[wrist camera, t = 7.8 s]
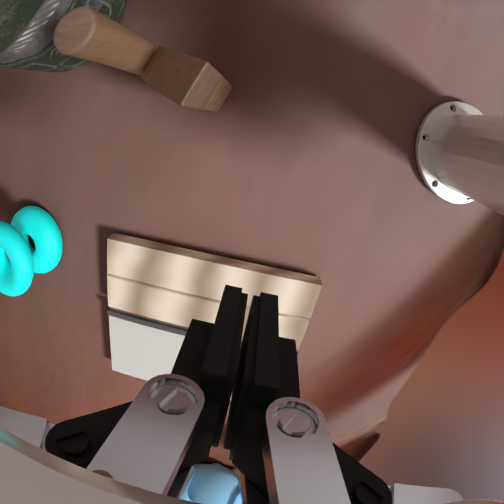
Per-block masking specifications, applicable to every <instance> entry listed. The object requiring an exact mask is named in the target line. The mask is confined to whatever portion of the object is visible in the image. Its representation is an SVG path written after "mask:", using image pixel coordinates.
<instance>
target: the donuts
mask: <svg viewBox="0 0 504 504" xmlns="http://www.w3.org/2000/svg"><path fill="white" fill-rule="evenodd" d="M28 235H29V236H31V238H32V239H33V241H34V243H35V249H33V247H32V246H31V244H30V242H29V239H28ZM62 249H63V243H62V236H61V233H60V230H59V227H58V225H57V223H56V222H55V220H54V219H53V217H52V216H51V215H50V214H49V213H48V212H47V211H45V210H44V209H42V208H40V207H37V206H26V207H24V208H22V209H20V210H19V211H18V212H17V213H16V214H15V215H14V217H13V219H12V221H11V224H9V223H6V222H3V221H0V292H1V293H3V294H5V295H8V296H18V295H21V294H23V293H24V292H26V291H27V289H28V288H29V287H30V285H31V282H32V279H33V274H34V272H35V273H47V272H49V271H51V270H53V269H54V268H55V267H56V266H57V264H58V263H59V261H60V259H61V255H62ZM5 252H6V254H7V255H8V257H9V260H10V262H11V263H10V262H9V260H8V259H7V257H6V254H5Z"/></svg>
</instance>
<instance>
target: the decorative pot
mask: <svg viewBox="0 0 504 504" xmlns="http://www.w3.org/2000/svg"><path fill="white" fill-rule="evenodd" d="M180 499H182V500H187V501H191V502H196V503H201V504H242V495H241V483H240V478H239V477H238V476H237V475H236V474H235V473H234V472H233V471H231V470H230V469H228V468H226V467H224V466H222V465H221V464H218V463H212V464H195V465H193V470H192V472H191V474H190V477H189V479H188V481H187V484H186V486H185V488H184V491H183V493H182V495H181V497H180Z"/></svg>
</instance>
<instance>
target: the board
mask: <svg viewBox="0 0 504 504" xmlns="http://www.w3.org/2000/svg"><path fill="white" fill-rule="evenodd" d="M107 315H109V330H110V346H111V359H112V370H114V371H118V372H121V373H124V374H127V375H130V376H133V377H137V378H140V379H144V380H147V381H149V380H150V379H151V378H153V377H155V376H157V375H163V374H171V372H172V369H173V366H174V364H175V361H176V359H177V356H178V353H179V351H180V348H181V346H182V343H183V340H184V338H185V335H186V333H187V330H188V327H184V326H180V325H176V324H172V323H168V322H164V321H160V320H156V319H152V318H149V317H145V316H141V315H137V314H134V313H130V312H127V311H123V310H120V309H116V308H113V307H109V308H108V310H107ZM241 343H242V339H241ZM240 347H241V346H240ZM297 355H298V351H297ZM231 396H232V395H231ZM230 401H231V399H230Z"/></svg>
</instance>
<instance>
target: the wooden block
mask: <svg viewBox="0 0 504 504" xmlns="http://www.w3.org/2000/svg"><path fill="white" fill-rule="evenodd" d="M53 42H54V46H55V47H56V49H57V51H58V52H60V53H61V54H64V55H68V56H72V57H76V58H80V59H84V60H88V61H92V62H96V63H99V64H103V65H106V66H110V67H113V68H117V69H120V70H124V71H127V72H130V73H133V74H136V75H139V76H140V79H141V80H143V81H144V82H146V83H147V84H149V85H150V86H152V87H153V88H155V89H156V90H158V91H159V92H161V93H162V94H164V95H165V96H167V97H168V98H170V99H171V100H173V101H174V102H176V103H177V104H178V105H180V106H184V107H189V108H193V109H198V110H206V111H210V112H215V113H217V112H218V111H219V109H220V108H221V106H222V104H223V103H224V101H225V100H226V98H227V96H228V95H229V93H230V92H231V90H232V87H233V86H232V85H231V84H230V83H229V82H228V81H227V80H226V79H225V78H224V77H223V76H222V75H221V74H220V73H219V72H218V71H217V70H216V69H215V68H214V67H213V66H212V65H211V64H210V63H209V62H208V61H205V60H202V59H199V58H196V57H193V56H190V55H187V54H184V53H181V52H178V51H175V50H171V49H168V48H165V47H161V46H159V47H158V46H156V45H155V44H153V43H151V42H150V41H148V40H146V39H145V38H143V37H141V36H140V35H138V34H136V33H135V32H133V31H131V30H130V29H128V28H126V27H124V26H123V25H121V24H119V23H117V22H115V21H114V20H112V19H110V18H108V17H106V16H104V15H103V14H101V13H99V12H97V11H95V10H93V9H91V8H89V7H78V8H74V9H72V10H70V11H69V12H67V13H66V14H65V15H64V16H63V17H62V18H61V19H60V21H59V22H58V23H57V25H56V28H55V30H54V35H53Z"/></svg>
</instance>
